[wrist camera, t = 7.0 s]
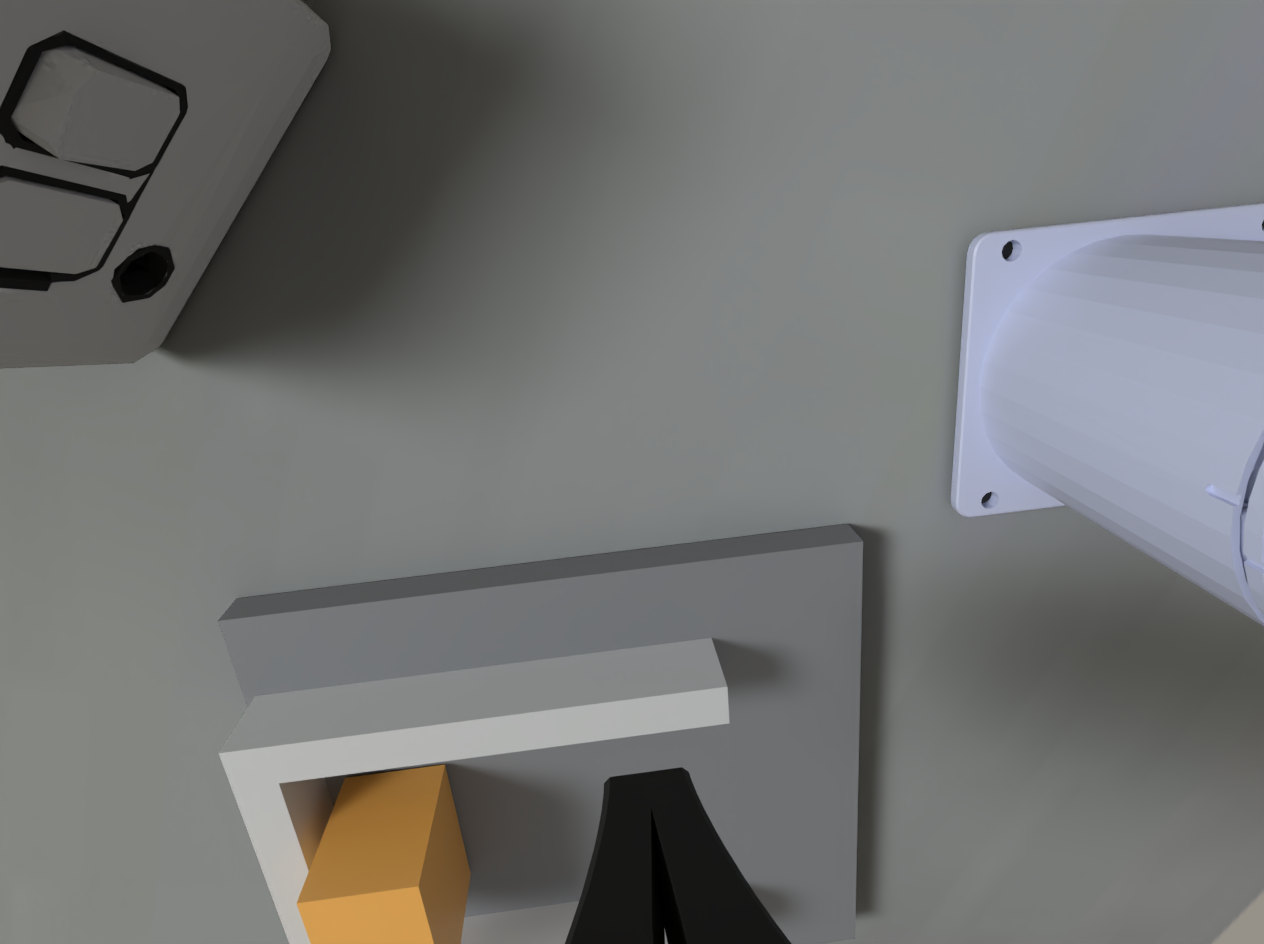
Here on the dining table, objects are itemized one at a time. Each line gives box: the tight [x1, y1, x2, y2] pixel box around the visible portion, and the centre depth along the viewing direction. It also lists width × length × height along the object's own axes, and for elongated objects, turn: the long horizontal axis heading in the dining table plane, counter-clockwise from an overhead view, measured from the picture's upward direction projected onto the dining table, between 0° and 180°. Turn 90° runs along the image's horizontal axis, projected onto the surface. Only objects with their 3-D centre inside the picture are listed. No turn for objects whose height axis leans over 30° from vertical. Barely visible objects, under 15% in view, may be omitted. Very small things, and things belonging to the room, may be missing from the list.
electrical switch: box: [0, 0, 331, 368], centre depth 13 cm, size 9×5×9 cm, turn 142°
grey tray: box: [218, 524, 863, 944], centre depth 23 cm, size 18×16×4 cm
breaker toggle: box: [296, 765, 471, 944], centre depth 21 cm, size 3×4×4 cm, turn 6°
